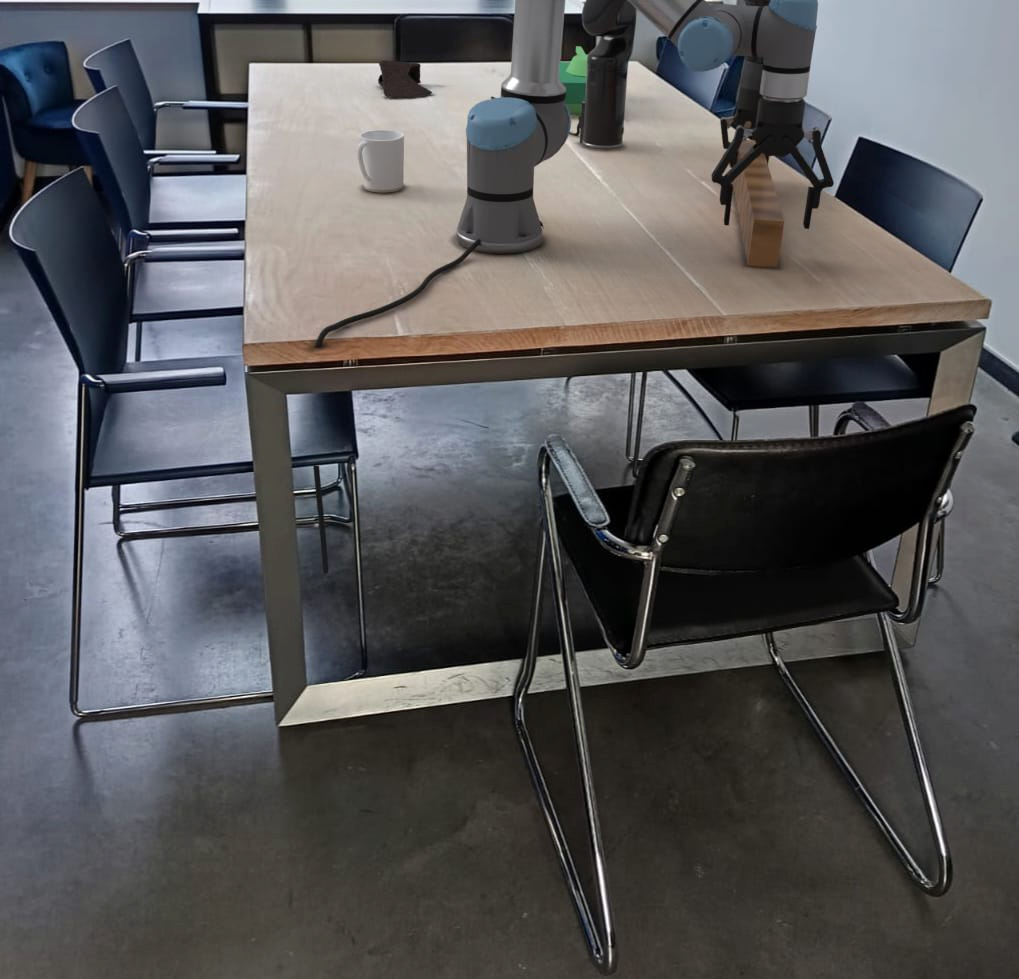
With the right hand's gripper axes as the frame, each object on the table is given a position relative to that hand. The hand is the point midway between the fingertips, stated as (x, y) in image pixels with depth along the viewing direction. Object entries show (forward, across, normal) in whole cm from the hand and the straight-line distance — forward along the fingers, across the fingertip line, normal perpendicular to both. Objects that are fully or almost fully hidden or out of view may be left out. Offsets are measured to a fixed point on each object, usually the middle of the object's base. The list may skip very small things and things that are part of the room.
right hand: (747, 170), depth 226 cm
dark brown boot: (+4, +88, -76) cm, 116 cm away
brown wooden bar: (+3, 0, +21) cm, 21 cm away
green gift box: (+4, +39, -71) cm, 81 cm away
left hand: (-2, 0, +42) cm, 42 cm away
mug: (+4, +74, +16) cm, 76 cm away
